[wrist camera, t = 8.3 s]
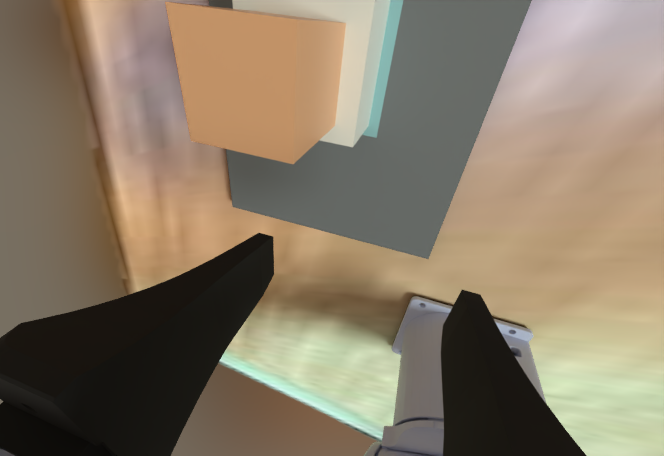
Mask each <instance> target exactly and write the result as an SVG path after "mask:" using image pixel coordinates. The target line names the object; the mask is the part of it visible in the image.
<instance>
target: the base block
mask: <svg viewBox="0 0 664 456" xmlns="http://www.w3.org/2000/svg"><path fill="white" fill-rule="evenodd" d="M232 3H233V9H241V10H250V11H259V12H266V13H274V14H282V15H289V16H297V17H304V18H312V19H319V20H327V21H334V22H342V23H346V29H345V38H344V47H343V56H342V66H341V75H340V84H339V93H338V102H337V112H336V121H335V126H334V127H333V128H332V129H331V130H330V131H329V132H328V133H327V134H326V135H324V136H323V137H322V138H321V139H320V141H325V142H329V143H334V144H339V145H344V146H349V147H353V146H354V145H355V144H356V142H357V141H358V140H359V138H360V137H361V135H362V134H363V133H364V131H365V130H366V129H367V127H368V126H369V120H370V115H371V109H372V103H373V97H374V92H375V86H376V80H377V75H378V69H379V63H380V57H381V52H382V46H383V40H384V35H385V29H386V23H387V17H388V12H389V6H390V0H232Z"/></svg>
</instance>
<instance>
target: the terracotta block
mask: <svg viewBox="0 0 664 456" xmlns="http://www.w3.org/2000/svg"><path fill="white" fill-rule="evenodd" d="M165 4H166V9H167V14H168V20H169V25H170V31H171V36H172V41H173V47H174V52H175V58H176V63H177V69H178V74H179V79H180V85H181V90H182V96H183V101H184V106H185V112H186V117H187V123H188V128H189V134H190V139H191V141H194V142H198V143H202V144H207V145H211V146H216V147H220V148H224V149H229V150H233V151H237V152H242V153H246V154H250V155H255V156H259V157H263V158H268V159H272V160H276V161H281V162H285V163H289V164H294V163H295V162H296V161H297V160H299V159H300V158H301V157H302V156H303V155H304V154H305V153H306V152H307V151H308V150H309V149H310V148H311V147H313V146H314V145H315V144H316V143H317V142H318V141H319V140H320V139H321V138H322V137H323V136H324V135H326V134H327V133H328V132H329V131H330V130H331V129H332V128H333V127H334V126H335V121H336V112H337V102H338V93H339V84H340V75H341V66H342V56H343V47H344V38H345V29H346V23H342V22H334V21H327V20H319V19H312V18H304V17H297V16H289V15H282V14H274V13H266V12H259V11H250V10H241V9H231V8H221V7H211V6H202V5H192V4H182V3H172V2H165Z"/></svg>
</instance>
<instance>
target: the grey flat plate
mask: <svg viewBox="0 0 664 456" xmlns="http://www.w3.org/2000/svg"><path fill="white" fill-rule="evenodd" d="M531 1H532V0H390V6H389V12H388V17H387V23H386V29H385V35H384V40H383V46H382V52H381V57H380V63H379V69H378V75H377V80H376V86H375V92H374V97H373V103H372V109H371V115H370V120H369V126H368V127H367V129H366V130H365V131H364V133H363V134H362V135H361V137H360V138H359V140H358V141H357V142H356V144H355V145H354V146H353V147H349V146H344V145H339V144H334V143H329V142H325V141H320V140H319V141H318V142H317V143H316V144H315V145H314V146H313V147H311V148H310V149H309V150H308V151H307V152H306V153H305V154H304V155H303V156H302V157H301V158H300V159H299V160H297V161H296V162H295V163H294V164H289V163H285V162H281V161H276V160H272V159H268V158H263V157H259V156H255V155H250V154H246V153H242V152H237V151H233V150H229V149H226V153H227V162H228V171H229V179H230V188H231V197H232V205H233V207H236V208H239V209H243V210H247V211H250V212H254V213H258V214H262V215H265V216H269V217H273V218H277V219H280V220H284V221H288V222H292V223H295V224H299V225H303V226H307V227H310V228H314V229H318V230H322V231H325V232H329V233H333V234H337V235H340V236H344V237H348V238H351V239H355V240H359V241H363V242H366V243H370V244H374V245H378V246H381V247H385V248H389V249H393V250H396V251H400V252H404V253H408V254H411V255H415V256H419V257H423V258H426V259H428V258H429V256H430V253H431V251H432V248H433V246H434V243H435V241H436V238H437V236H438V233H439V231H440V228H441V226H442V223H443V221H444V218H445V216H446V213H447V211H448V208H449V206H450V203H451V201H452V198H453V196H454V193H455V191H456V188H457V186H458V183H459V181H460V178H461V176H462V173H463V171H464V168H465V166H466V163H467V161H468V158H469V156H470V153H471V151H472V148H473V146H474V143H475V141H476V138H477V136H478V133H479V131H480V128H481V126H482V123H483V121H484V118H485V116H486V113H487V111H488V108H489V106H490V103H491V101H492V98H493V96H494V93H495V91H496V88H497V86H498V83H499V81H500V78H501V76H502V73H503V71H504V68H505V66H506V63H507V61H508V58H509V56H510V53H511V51H512V48H513V46H514V43H515V41H516V38H517V36H518V33H519V31H520V28H521V26H522V23H523V21H524V18H525V16H526V13H527V11H528V8H529V6H530V3H531ZM209 6H211V7H221V8H231V9H233V3H232V0H209Z"/></svg>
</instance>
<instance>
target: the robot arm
mask: <svg viewBox="0 0 664 456" xmlns="http://www.w3.org/2000/svg"><path fill="white" fill-rule="evenodd" d="M273 275H274V255H273V237H272V236H268V235H265V234H261V233H258V234H256V235H254V236H253V237H251V238H249V239H247V240H246V241H244V242H242V243H240V244H239V245H237V246H235V247H233V248H232V249H230V250H228V251H226V252H224V253H223V254H221V255H219V256H217V257H215V258H214V259H212V260H210V261H208V262H206V263H204V264H202V265H200V266H198V267H196V268H194V269H192V270H190V271H188V272H186V273H183V274H181V275H179V276H177V277H175V278H172V279H170V280H167V281H165V282H163V283H160V284H158V285H155V286H153V287H150V288H147V289H144V290H141V291H139V292H136V293H133V294H130V295H127V296H124V297H121V298H119V299H115V300H112V301H109V302H105V303H102V304H99V305H95V306H91V307H88V308H84V309H80V310H77V311H73V312H69V313H65V314H60V315H56V316H51V317H47V318H43V319H39V320H34V321H29V322H24V323H21V324H19V325H18V326H16V327H15V328H14V329H12V330H11V331H9V332H8V333H7V334H5V335H4V336H2V337H1V338H0V399H1V400H2V401H4V402H3V403H1V404H0V456H171V453H172V451H173V449H174V447H175V445H176V443H177V441H178V439H179V437H180V434H181V432H182V430H183V428H184V426H185V424H186V422H187V420H188V418H189V417H190V414H191V413H192V410H193V409H194V406H195V405H196V403H197V400H198V399H199V397H200V395H201V393H202V391H203V389H204V388H205V386H206V384H207V382H208V380H209V378H210V376H211V375H212V373H213V371H214V369H215V367H216V366H217V364H218V362H219V360H220V359H221V357H222V355H223V353H224V352H225V350H226V348H227V347H228V345H229V344H230V342H231V341H232V339H233V338H234V336H235V335H236V333H237V332H238V331H239V329H240V328H241V326H242V325H243V323H244V322H245V321H246V319H247V318H248V316H249V315H250V313H251V312H252V311H253V309H254V308H255V306H256V305H257V303H258V302H259V300H260V299H261V297H262V296H263V294H264V292H265V290H266V289H267V287H268V285H269V283H270V281H271V279H272V277H273ZM421 303H424V304H421ZM532 338H533V333H532V331H531V330H530V329H528V328H524V327H521V326H517V325H514V324H511V323H507V322H504V321H500V320H497V319H493V317H492V315H491V313H490V312H489V310H488V308H487V306H486V304H485V302H484V301H483V299H482V297H481V295H479V294H476V293H472V292H468V291H465V290H462V291H461V293H460V294H459V296H458V298H457V300H456V302H455V304H454V306H453V307H452V306H449V305H445V304H442V303H439V302H435V301H432V300H428V299H425V298H421V297H418V296H414V297H412V298H411V300H410V302H409V305H408V307H407V310H406V312H405V315H404V317H403V320H402V322H401V325H400V327H399V330H398V333H397V335H396V338H395V340H394V343H393V345H392V351H393V352H395V353H397V354H400V355H401V361H400V370H399V378H398V387H397V396H396V404H395V413H394V422H393V426H384V431H383V438H382V442H375V443H373V444H372V445H371V446H370V447H369V449H368V450H367V452H366V453H365V455H364V456H586V455H585V453H584V452H583V451H582V450H581V449H580V447H579V446H578V445H577V444H576V442H575V441H574V440H573V439H572V437H571V436H570V435H569V434H568V432H567V431H566V430H565V428H564V427H563V426H562V424H561V423H560V422H559V420H558V419H557V418H556V416H555V415H554V414H553V412H552V411H551V410H550V408H549V407H548V406H547V404H546V401H545V398H544V394H543V391H542V387H541V384H540V380H539V377H538V373H537V370H536V366H535V363H534V359H533V356H532V352H531V349H530V345H529V341H530V340H531V339H532Z"/></svg>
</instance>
